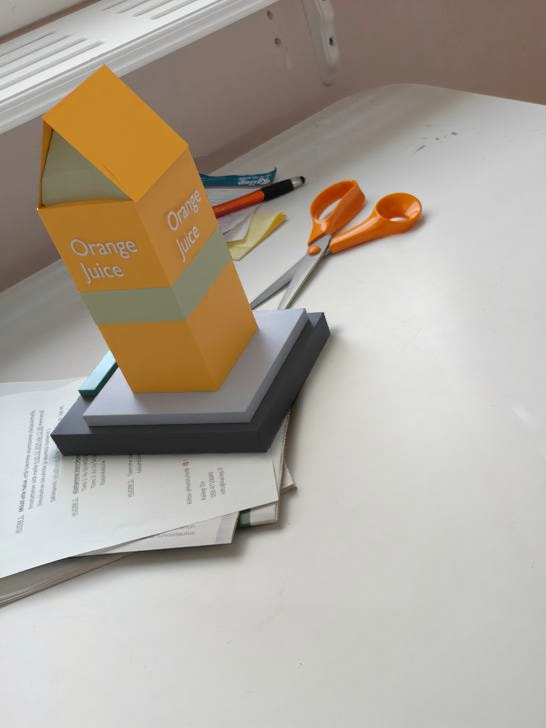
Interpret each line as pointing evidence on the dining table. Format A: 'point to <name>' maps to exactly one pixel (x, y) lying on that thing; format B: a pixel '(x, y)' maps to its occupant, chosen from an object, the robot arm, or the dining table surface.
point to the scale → (200, 399)
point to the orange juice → (141, 239)
